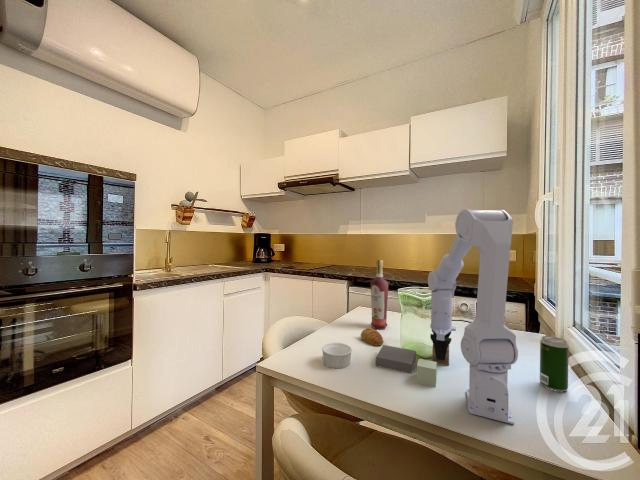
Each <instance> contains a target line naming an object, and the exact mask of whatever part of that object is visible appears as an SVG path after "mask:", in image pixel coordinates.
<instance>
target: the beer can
mask: <svg viewBox="0 0 640 480" xmlns="http://www.w3.org/2000/svg"><path fill="white" fill-rule="evenodd" d="M540 337H541V339H540V341H539V382H540V384H541V386H542V385H543V386H542V387H544V386H545V387H547V388H549V389H553V390H556V391H561V392H560V393H564V392H563V391H566V392H567V391H568V390H569V351H570V349H569V345H568V341H567V340H565V339H563V338H560V337H555V336H551V335H550V336H549V335H543V336H540ZM545 387H544V388H545ZM547 388H546V389H547ZM549 389H548V390H549ZM556 391H555V392H556Z"/></svg>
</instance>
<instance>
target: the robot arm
mask: <svg viewBox="0 0 640 480" xmlns="http://www.w3.org/2000/svg"><path fill="white" fill-rule="evenodd" d="M454 224H455V233H456V235H455V237H454V238H455V239H454V241H453V244H452V246H451V248H450V251H449V253H447V254H446V253H445V254H444V255H443V256H442V258H441V260H440V262H439V264H438V266H437V267H436V270H434V269H433V271H430V272H429V273H428V277H427V285H428V289H429V290H430V291H431V292H430V293H431V295H430V296H431V298H430V299H431V301H430V302H431V304H430V305H431V307H430V309H431V310H430V327H429V328H430V329H431V332H432V333H430V340H431V342H432V345H433V344H434V348H435V354H436V358H437V359H438V360H443V361H444V360H445V357H446V352H447V348H448V346H449V347H450V344H451V342H452V338H451V334H452V332H456V331H457V327H455V326H452V325H453V321H452V320H453V318H452V317H453V316H452V315H453V298H454V296H455V290H456V289H457V278H458V276H459V274H460V273H461V271H462V269H463V268H464V266H465V265H464V263H465V262H464V261H463V259H464V258H465V256H466V255H467V254H468V252H469V251H470V250H471V248H472V247H473V246H474V247H476V248H477V249H478V251H479V253H480V255H479V266H478V267H479V268H478V283H477V292H476V293H477V295H476V309H475V318H474V320H473V321H471V322H470V323H468V324H467V325H466V326H465V327H464V332H463V336H462V338H461V340H460V350H461V354H462V356H463V358H464V359H465V361H466V362H467V363H468V364H469V371H468V372H469V376H468V377H469V379H468V380H469V383H468V388H466V391H465V392H466V401H467V409H468V413H470V414H471V415H476V416H479V417H483V418H488V419H490V420H491V419H492V420H496V421H499V422H503V423H507V424H515V420H514V418H513V417H514V416H513V415H512V412H511V409H510V406H509V390H508V373H509V372H508V370H512V365H514V364H515V363H517V361H518V359H519V358H518V357H519V350H518V347H517V343H516V342H517V341H516V340H517V335H516V333H514V332H513V330H512V329H510V328H509V327H508V326H506V325H505V317H506V314H505V313H506V304H507V292H508V291H507V290H508V278H509V269H510V268H509V267H510V255H511V254H510V253H511V245H512V237H513V224H514V219H513V218H512V216H511V215H510V214H509V213H508V212H507V211H506V210H504V209H497V210H496V209H495V210H494V209H493V210H491V209H490V210H489V209H485V210H484V209H466V208H465V209H461V210H460V211H459V213H458V214H457V216H456V219H455V223H454Z"/></svg>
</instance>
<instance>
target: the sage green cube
mask: <svg viewBox="0 0 640 480" xmlns="http://www.w3.org/2000/svg"><path fill="white" fill-rule="evenodd" d="M437 366H438V363H437V362H434V361H432V360H428V359H422V358H418V360H417V364H416V383H417V384H421V385H425V386H430V387H435V388H436V386H437V373H438V371H437V370H438V368H437Z"/></svg>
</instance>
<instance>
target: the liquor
mask: <svg viewBox="0 0 640 480" xmlns="http://www.w3.org/2000/svg"><path fill="white" fill-rule="evenodd" d="M383 266H384V259H376V274H375V278H374V279H372V280H371V281H370V300H371V301H370V304H371V322H370V325H371V326H372V327H373V328H374V329H375V330H384V329H385V328H387V326H388V323H387V317H388V316H387V315H388V314H387V313H388V301H389V300H388V297H389V281H387V280H386V279H385V278H384V272H383V271H384V270H383Z"/></svg>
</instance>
